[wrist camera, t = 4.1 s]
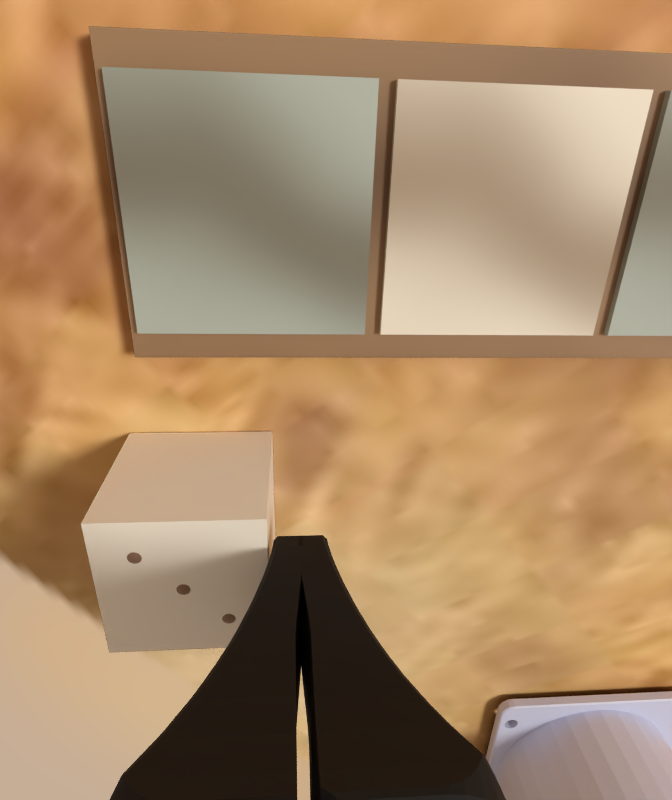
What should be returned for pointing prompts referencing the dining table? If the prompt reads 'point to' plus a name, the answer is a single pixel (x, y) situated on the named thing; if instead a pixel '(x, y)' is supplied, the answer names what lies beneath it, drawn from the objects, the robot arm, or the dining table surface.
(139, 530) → the die
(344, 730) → the robot arm
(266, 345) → the track
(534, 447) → the dining table surface
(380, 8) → the dining table surface
